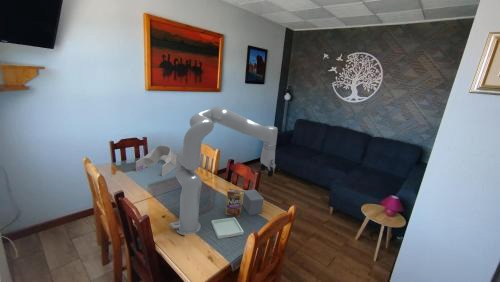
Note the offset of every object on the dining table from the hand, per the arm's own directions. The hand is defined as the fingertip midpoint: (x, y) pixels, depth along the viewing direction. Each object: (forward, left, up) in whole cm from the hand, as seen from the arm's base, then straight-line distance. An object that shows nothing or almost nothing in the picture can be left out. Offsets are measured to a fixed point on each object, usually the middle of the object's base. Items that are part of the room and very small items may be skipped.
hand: (266, 173), depth 142 cm
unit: (-7, 0, -24) cm, 25 cm away
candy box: (-20, -2, -25) cm, 32 cm away
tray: (-28, -15, -24) cm, 40 cm away
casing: (-58, +75, -25) cm, 99 cm away
